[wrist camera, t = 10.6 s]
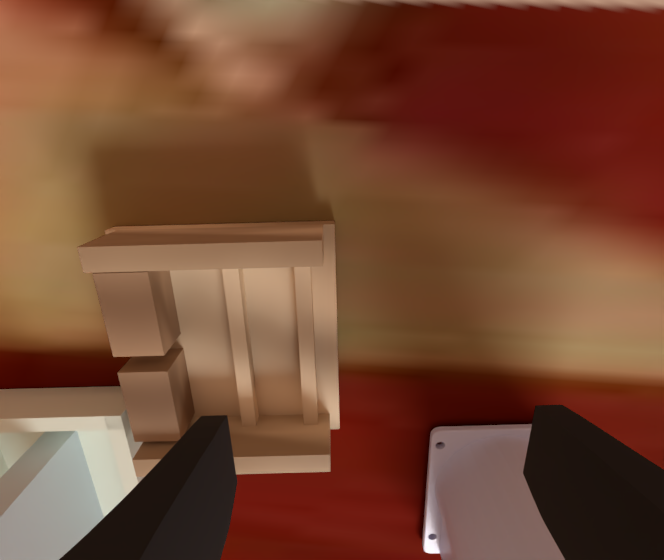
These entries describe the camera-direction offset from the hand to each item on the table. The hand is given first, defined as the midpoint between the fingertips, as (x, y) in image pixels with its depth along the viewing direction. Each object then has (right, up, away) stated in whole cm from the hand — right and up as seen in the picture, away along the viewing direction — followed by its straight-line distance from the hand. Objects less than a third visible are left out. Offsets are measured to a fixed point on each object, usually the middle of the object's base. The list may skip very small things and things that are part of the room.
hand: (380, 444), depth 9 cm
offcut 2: (-9, -1, +10) cm, 14 cm away
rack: (-6, +1, +10) cm, 12 cm away
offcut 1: (-10, +3, +9) cm, 13 cm away
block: (-15, -8, +13) cm, 22 cm away
